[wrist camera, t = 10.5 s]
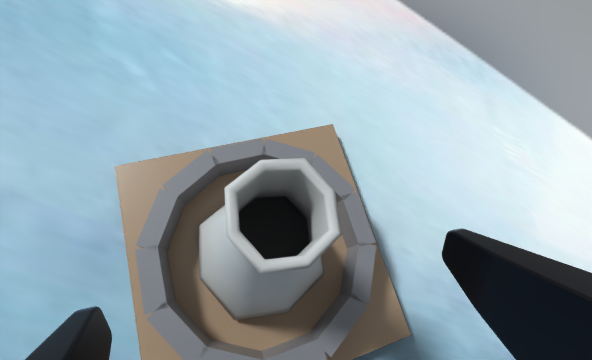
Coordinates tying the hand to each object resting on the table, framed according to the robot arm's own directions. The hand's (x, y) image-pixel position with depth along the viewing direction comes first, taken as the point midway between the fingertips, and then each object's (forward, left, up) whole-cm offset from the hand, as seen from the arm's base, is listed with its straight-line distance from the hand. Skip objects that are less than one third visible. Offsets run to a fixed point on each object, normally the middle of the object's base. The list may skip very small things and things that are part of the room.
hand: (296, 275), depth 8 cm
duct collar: (+2, 0, -11) cm, 11 cm away
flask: (+2, 0, -10) cm, 10 cm away
